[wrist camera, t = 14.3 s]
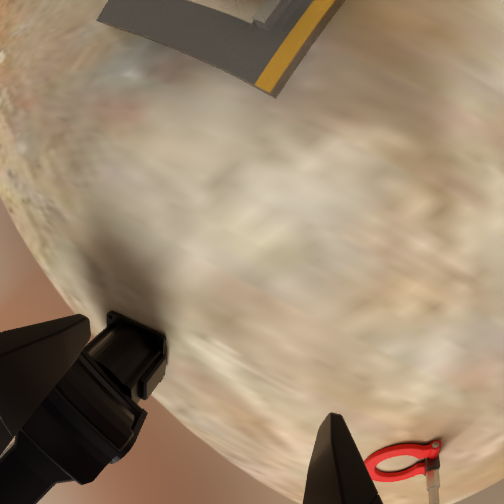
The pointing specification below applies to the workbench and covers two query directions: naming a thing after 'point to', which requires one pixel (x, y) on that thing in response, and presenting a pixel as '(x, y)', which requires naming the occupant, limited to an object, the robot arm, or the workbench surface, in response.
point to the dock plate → (230, 32)
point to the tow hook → (427, 468)
